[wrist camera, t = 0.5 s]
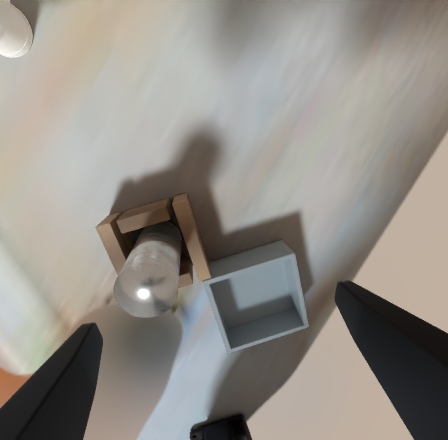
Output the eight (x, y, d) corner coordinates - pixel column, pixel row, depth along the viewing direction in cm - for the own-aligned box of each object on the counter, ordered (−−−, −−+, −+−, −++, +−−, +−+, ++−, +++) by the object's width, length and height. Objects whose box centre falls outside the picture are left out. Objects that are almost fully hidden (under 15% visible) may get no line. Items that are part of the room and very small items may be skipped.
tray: (295, 306, 26) (309, 327, 23) (223, 330, 25) (227, 353, 22) (281, 239, 23) (294, 253, 20) (201, 264, 23) (203, 281, 20)
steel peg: (186, 251, 22) (185, 306, 15) (148, 262, 22) (127, 325, 15) (174, 215, 21) (166, 255, 14) (133, 227, 21) (103, 274, 13)
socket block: (208, 261, 23) (211, 278, 20) (137, 282, 23) (130, 302, 20) (186, 192, 21) (185, 200, 18) (108, 215, 20) (95, 227, 18)
